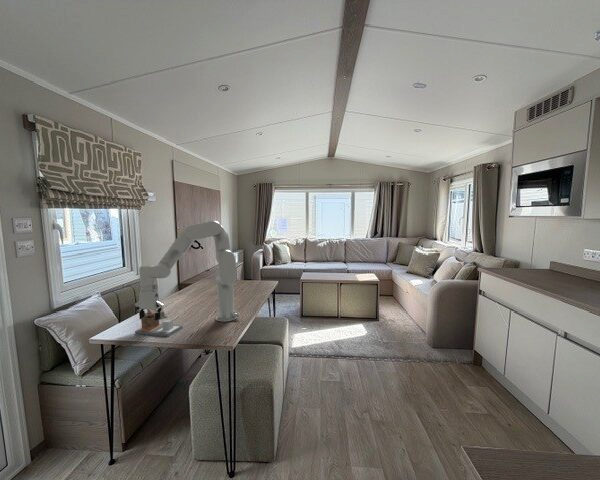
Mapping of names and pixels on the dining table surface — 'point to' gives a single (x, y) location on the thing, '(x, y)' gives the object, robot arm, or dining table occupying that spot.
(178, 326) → the pin board
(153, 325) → the sleeve
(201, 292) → the dining table surface
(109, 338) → the dining table surface
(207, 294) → the dining table surface
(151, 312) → the packaged product
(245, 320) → the dining table surface
